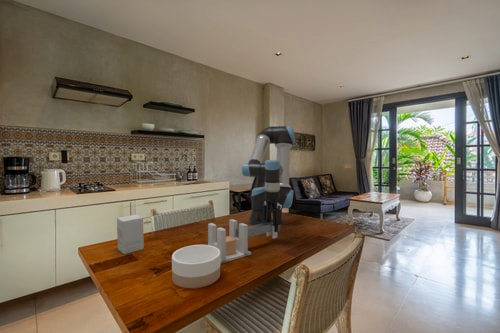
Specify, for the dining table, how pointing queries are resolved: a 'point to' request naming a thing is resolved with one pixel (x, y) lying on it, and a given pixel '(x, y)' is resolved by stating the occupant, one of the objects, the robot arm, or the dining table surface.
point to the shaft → (259, 229)
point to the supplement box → (130, 233)
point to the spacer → (230, 245)
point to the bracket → (221, 236)
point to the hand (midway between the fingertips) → (271, 236)
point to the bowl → (195, 266)
